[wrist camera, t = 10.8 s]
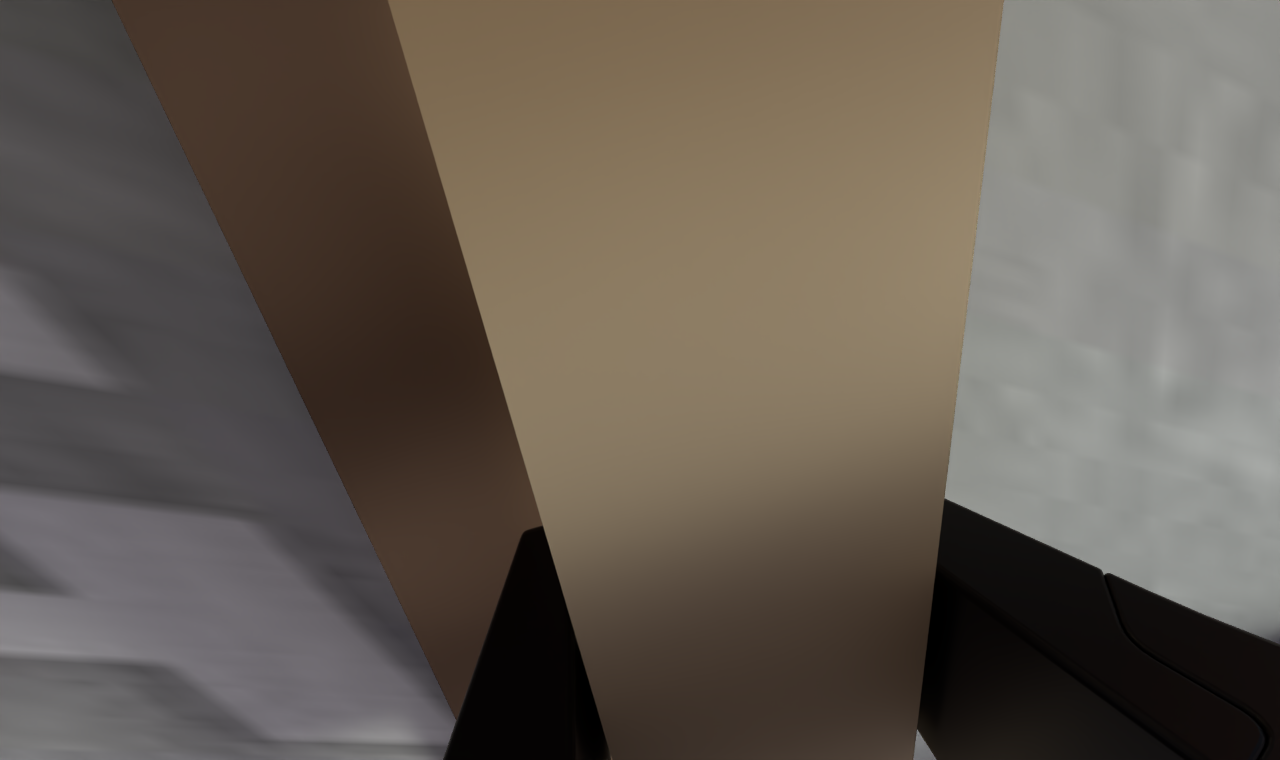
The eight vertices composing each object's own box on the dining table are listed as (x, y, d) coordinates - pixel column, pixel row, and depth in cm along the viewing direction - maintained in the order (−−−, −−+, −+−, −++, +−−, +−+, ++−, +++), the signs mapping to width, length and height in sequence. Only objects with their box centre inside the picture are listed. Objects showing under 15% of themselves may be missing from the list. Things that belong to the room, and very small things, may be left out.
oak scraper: (777, 744, 14) (886, 984, 11) (633, 795, 14) (701, 1061, 10) (703, -382, 6) (1105, -864, 2) (315, -341, 5) (130, -863, 2)
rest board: (835, 688, 19) (854, 720, 19) (510, 801, 18) (514, 842, 17) (848, -875, 7) (909, -995, 6) (-259, -880, 5) (-385, -1035, 4)
